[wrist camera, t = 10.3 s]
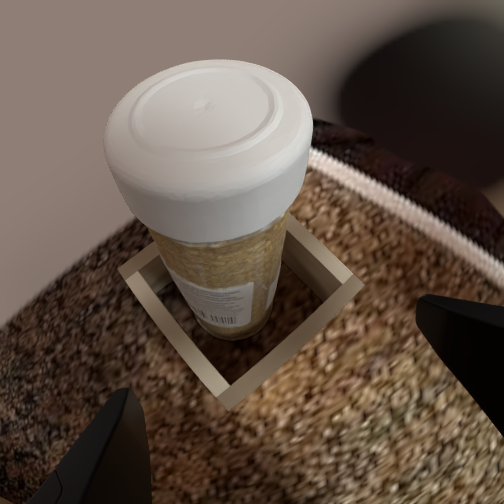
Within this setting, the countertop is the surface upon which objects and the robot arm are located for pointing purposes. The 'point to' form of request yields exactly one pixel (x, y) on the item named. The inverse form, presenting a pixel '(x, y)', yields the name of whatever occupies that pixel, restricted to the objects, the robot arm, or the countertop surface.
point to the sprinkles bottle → (214, 181)
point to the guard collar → (334, 297)
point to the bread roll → (4, 501)
